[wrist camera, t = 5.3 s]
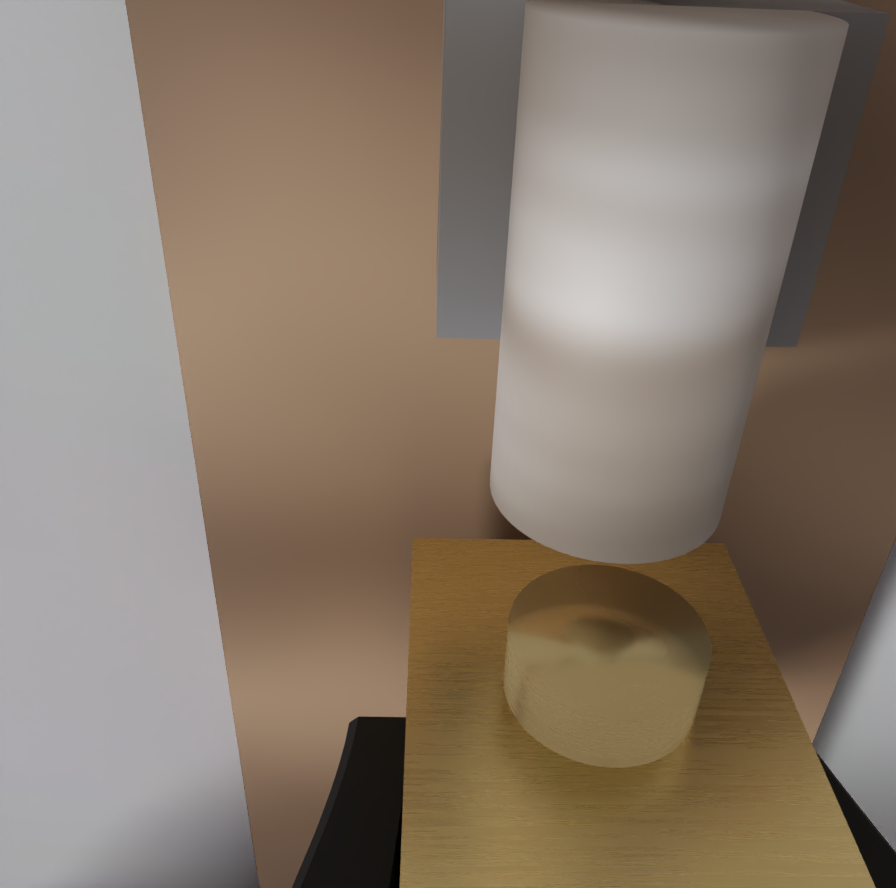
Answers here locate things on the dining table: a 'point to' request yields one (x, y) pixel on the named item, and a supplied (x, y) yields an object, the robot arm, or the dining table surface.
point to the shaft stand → (519, 321)
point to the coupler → (604, 730)
